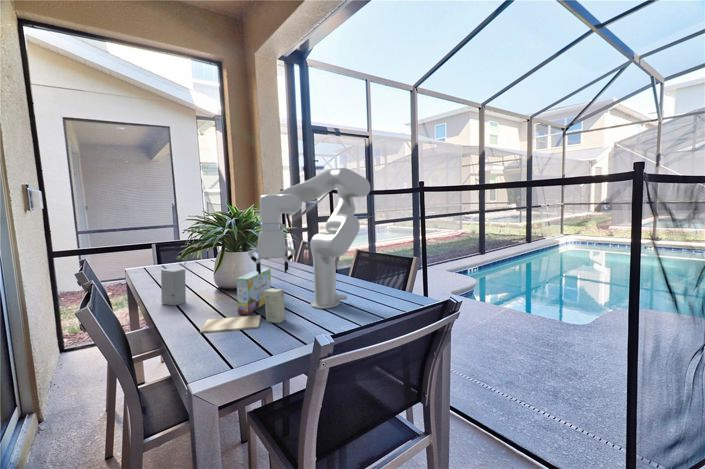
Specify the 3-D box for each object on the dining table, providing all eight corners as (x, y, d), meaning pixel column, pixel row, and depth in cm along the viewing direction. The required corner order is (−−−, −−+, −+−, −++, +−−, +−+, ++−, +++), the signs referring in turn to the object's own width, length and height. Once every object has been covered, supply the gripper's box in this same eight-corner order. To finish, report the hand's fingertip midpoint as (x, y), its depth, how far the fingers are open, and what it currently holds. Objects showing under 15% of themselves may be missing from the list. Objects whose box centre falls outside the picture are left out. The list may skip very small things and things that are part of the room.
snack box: (249, 315, 139) (247, 278, 137) (237, 314, 140) (235, 278, 138) (272, 299, 160) (270, 267, 158) (261, 298, 161) (259, 267, 159)
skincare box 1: (161, 304, 155) (158, 270, 153) (174, 299, 161) (172, 266, 160) (175, 306, 152) (172, 271, 150) (188, 301, 158) (185, 268, 156)
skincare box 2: (285, 319, 133) (284, 289, 131) (279, 323, 129) (277, 292, 127) (272, 317, 135) (271, 287, 134) (265, 321, 131) (263, 290, 130)
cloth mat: (260, 316, 137) (260, 315, 137) (258, 327, 125) (258, 326, 125) (207, 320, 133) (207, 319, 133) (200, 333, 121) (199, 331, 121)
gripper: (294, 226, 133) (295, 269, 135) (248, 227, 130) (250, 271, 132) (294, 228, 126) (296, 273, 128) (245, 229, 122) (247, 276, 124)
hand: (272, 272), depth 130 cm, fingers open, 9 cm apart
